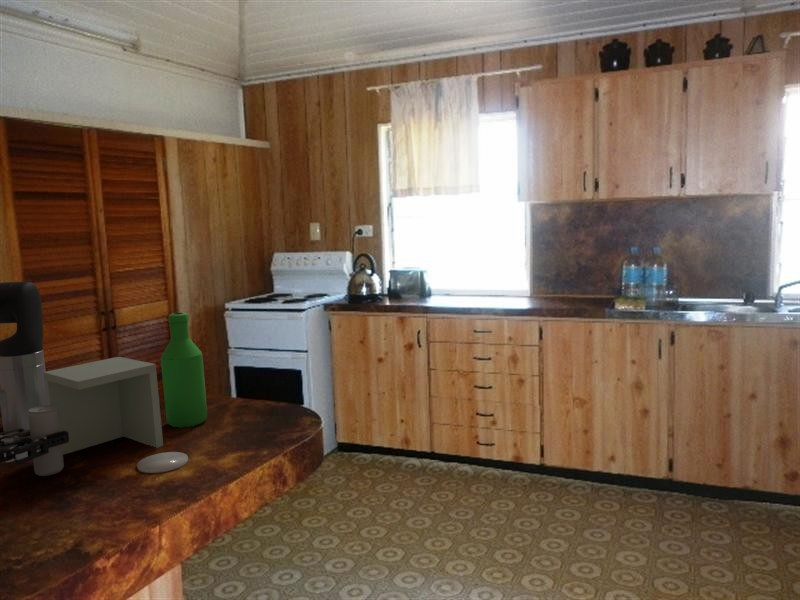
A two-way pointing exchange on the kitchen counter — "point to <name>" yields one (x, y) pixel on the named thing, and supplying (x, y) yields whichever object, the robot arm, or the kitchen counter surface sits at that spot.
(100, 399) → the shelf housing
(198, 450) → the kitchen counter surface
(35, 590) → the kitchen counter surface
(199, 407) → the bottle
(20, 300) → the robot arm
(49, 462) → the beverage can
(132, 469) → the kitchen counter surface
